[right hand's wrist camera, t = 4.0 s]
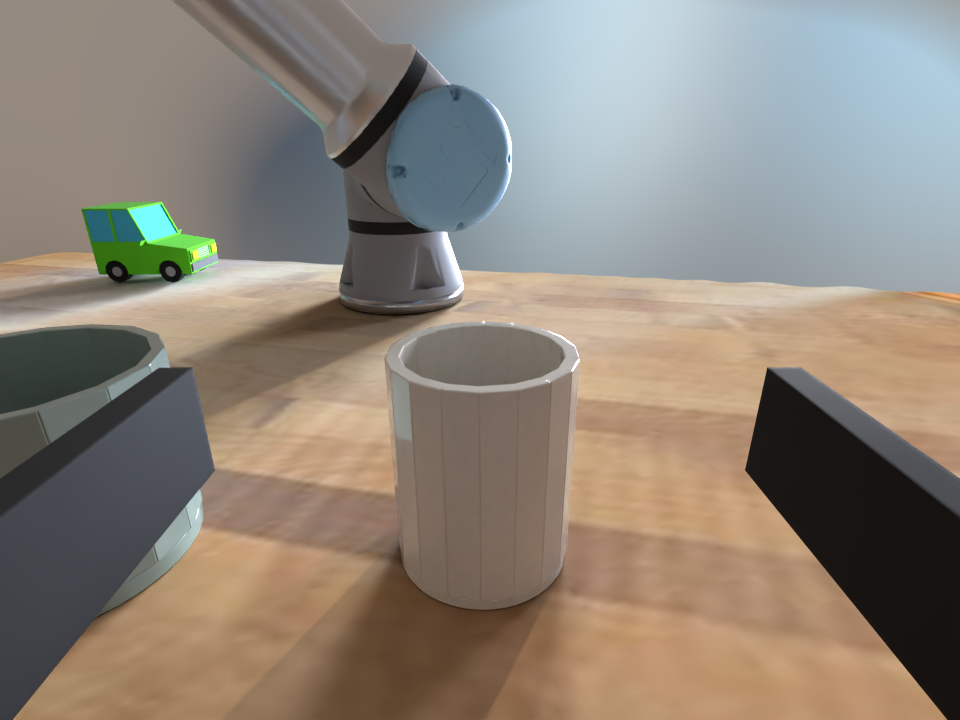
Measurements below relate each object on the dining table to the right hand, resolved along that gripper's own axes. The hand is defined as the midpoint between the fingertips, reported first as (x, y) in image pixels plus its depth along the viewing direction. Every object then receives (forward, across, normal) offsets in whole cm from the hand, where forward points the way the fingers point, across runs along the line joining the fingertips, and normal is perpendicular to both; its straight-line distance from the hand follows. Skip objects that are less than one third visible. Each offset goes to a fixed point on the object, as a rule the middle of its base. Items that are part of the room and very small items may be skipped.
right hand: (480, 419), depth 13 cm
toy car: (+66, -46, -12) cm, 82 cm away
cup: (+10, 0, -12) cm, 16 cm away
